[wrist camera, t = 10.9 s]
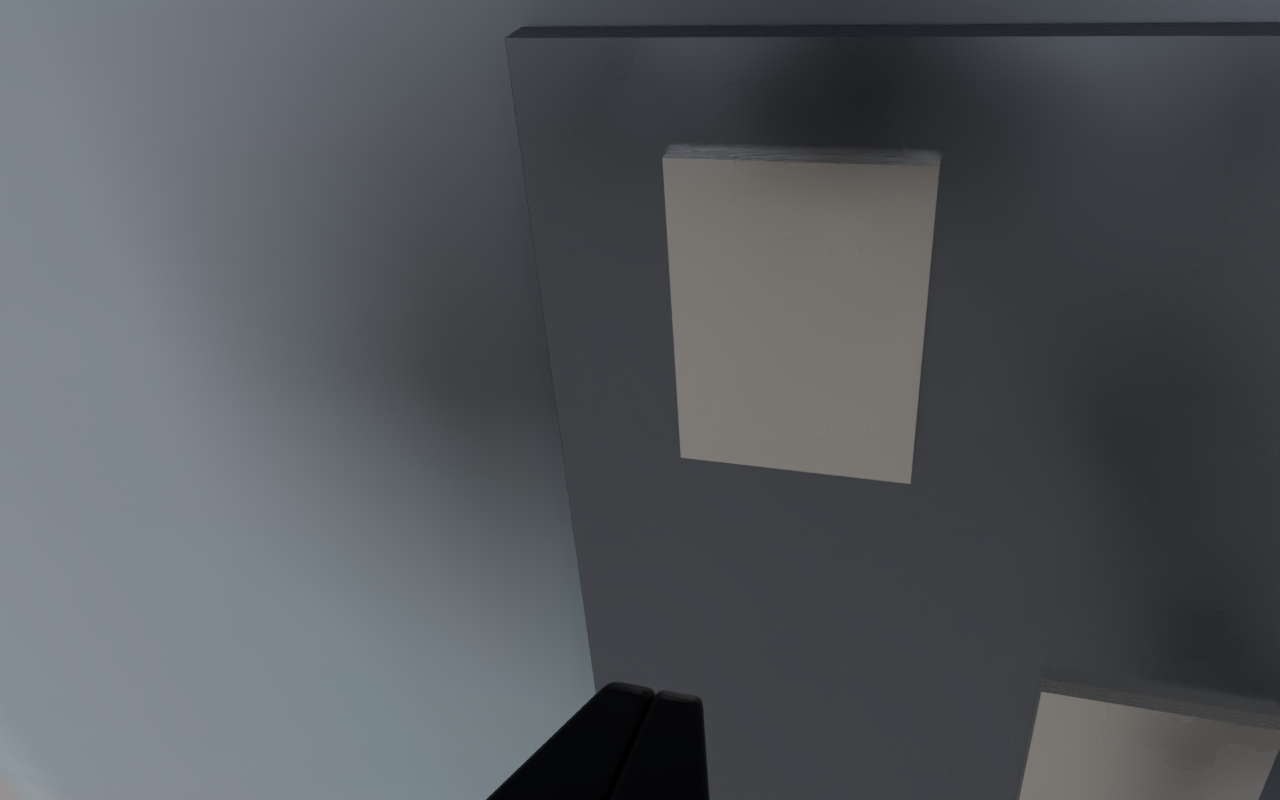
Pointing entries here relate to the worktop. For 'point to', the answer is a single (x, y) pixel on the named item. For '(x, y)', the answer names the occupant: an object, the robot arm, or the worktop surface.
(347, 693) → the worktop surface
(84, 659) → the worktop surface
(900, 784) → the board
